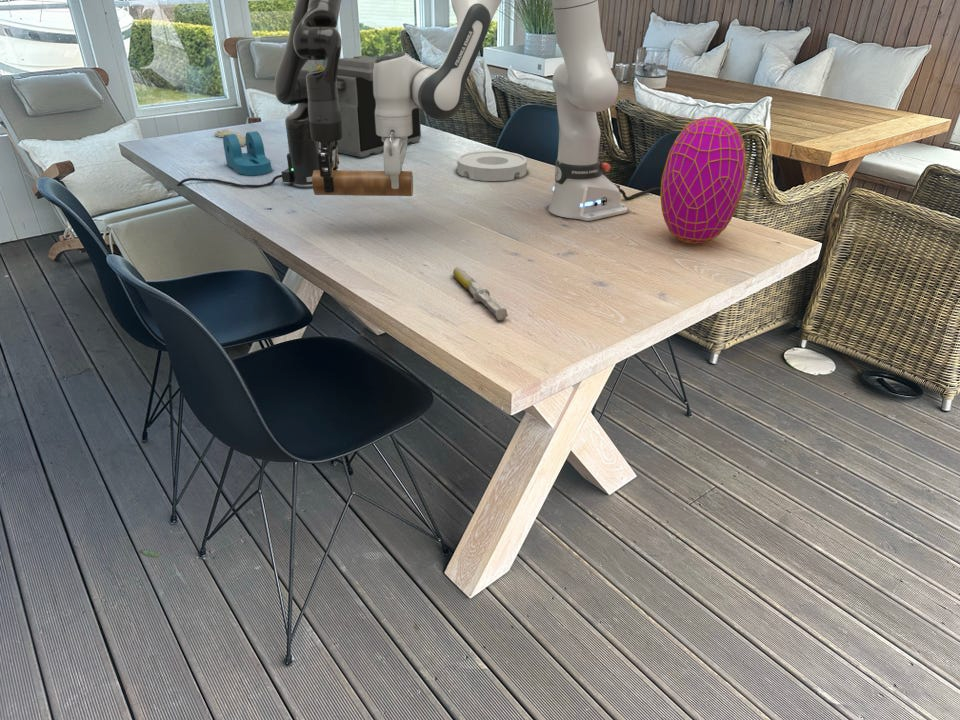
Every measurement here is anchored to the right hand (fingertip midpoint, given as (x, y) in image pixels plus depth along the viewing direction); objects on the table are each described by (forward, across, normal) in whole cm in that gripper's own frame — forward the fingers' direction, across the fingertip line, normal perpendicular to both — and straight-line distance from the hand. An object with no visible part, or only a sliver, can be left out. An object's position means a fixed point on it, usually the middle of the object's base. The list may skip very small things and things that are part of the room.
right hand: (396, 183), depth 172 cm
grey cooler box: (+13, +93, +19) cm, 96 cm away
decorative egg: (+13, -5, -75) cm, 76 cm away
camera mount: (+13, +60, +55) cm, 82 cm away
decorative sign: (+13, +104, +72) cm, 127 cm away
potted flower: (+13, +138, +41) cm, 144 cm away
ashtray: (+13, +59, -26) cm, 65 cm away
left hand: (+1, 0, +16) cm, 16 cm away
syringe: (+13, -39, -20) cm, 46 cm away
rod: (+3, 0, +8) cm, 9 cm away
